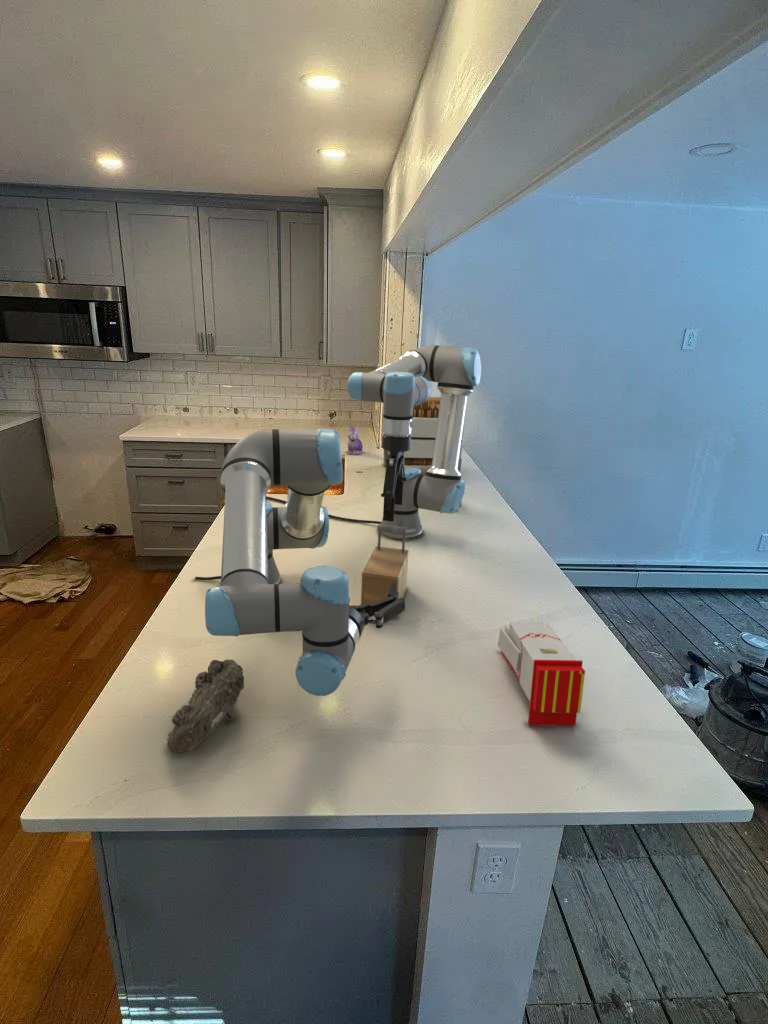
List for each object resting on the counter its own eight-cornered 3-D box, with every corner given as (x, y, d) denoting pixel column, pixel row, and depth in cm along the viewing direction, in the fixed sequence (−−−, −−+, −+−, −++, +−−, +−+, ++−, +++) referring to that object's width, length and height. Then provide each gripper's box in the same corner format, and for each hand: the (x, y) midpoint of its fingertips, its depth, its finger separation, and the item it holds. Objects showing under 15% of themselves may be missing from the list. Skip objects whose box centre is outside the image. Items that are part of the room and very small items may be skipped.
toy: (544, 607, 134) (594, 667, 105) (539, 659, 137) (586, 732, 108) (493, 606, 134) (529, 666, 105) (489, 658, 137) (523, 731, 107)
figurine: (350, 455, 301) (351, 427, 296) (342, 451, 309) (343, 423, 304) (366, 454, 305) (367, 426, 300) (358, 449, 314) (359, 423, 309)
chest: (374, 584, 163) (375, 550, 159) (406, 588, 161) (408, 554, 158) (360, 613, 147) (361, 576, 143) (396, 618, 145) (398, 581, 142)
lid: (375, 549, 160) (376, 521, 157) (408, 553, 158) (410, 525, 155) (361, 576, 143) (362, 545, 140) (398, 580, 142) (399, 550, 139)
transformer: (382, 463, 289) (386, 382, 275) (445, 464, 293) (451, 384, 279) (390, 482, 257) (394, 392, 243) (460, 483, 261) (468, 394, 247)
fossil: (192, 660, 117) (244, 628, 112) (224, 691, 120) (276, 661, 115) (142, 746, 98) (202, 712, 93) (182, 779, 101) (242, 748, 96)
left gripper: (274, 645, 105) (308, 597, 126) (408, 656, 102) (420, 605, 122) (272, 608, 103) (306, 565, 123) (408, 618, 99) (420, 573, 120)
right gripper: (403, 446, 133) (399, 529, 140) (417, 426, 156) (413, 499, 164) (372, 443, 135) (369, 526, 142) (391, 424, 158) (387, 496, 165)
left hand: (363, 585), depth 123 cm, fingers open, 13 cm apart
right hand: (392, 512), depth 153 cm, fingers open, 13 cm apart
